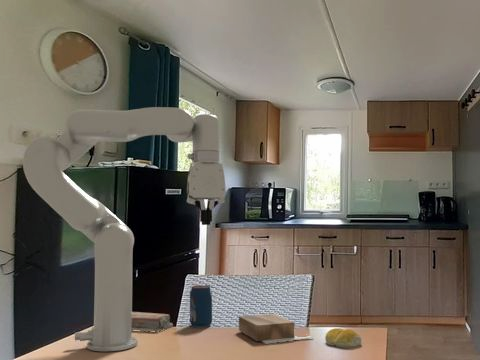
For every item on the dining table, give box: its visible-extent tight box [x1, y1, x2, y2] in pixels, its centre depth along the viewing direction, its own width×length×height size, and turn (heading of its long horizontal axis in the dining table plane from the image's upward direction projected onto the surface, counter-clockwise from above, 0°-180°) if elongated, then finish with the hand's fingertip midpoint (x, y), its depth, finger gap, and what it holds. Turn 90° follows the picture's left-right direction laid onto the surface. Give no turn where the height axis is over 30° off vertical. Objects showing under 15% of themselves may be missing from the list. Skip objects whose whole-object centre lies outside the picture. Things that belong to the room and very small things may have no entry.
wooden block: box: [238, 313, 295, 342], centre depth 129 cm, size 4×14×11 cm
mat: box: [261, 335, 314, 345], centre depth 130 cm, size 14×18×1 cm
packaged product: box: [132, 311, 174, 332], centre depth 141 cm, size 18×5×10 cm
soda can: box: [189, 285, 213, 329], centre depth 144 cm, size 7×7×12 cm
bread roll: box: [325, 327, 362, 349], centre depth 119 cm, size 8×9×4 cm
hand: (206, 224), depth 126 cm, fingers closed
